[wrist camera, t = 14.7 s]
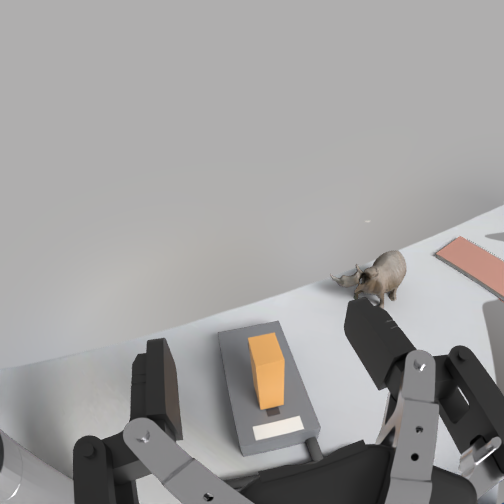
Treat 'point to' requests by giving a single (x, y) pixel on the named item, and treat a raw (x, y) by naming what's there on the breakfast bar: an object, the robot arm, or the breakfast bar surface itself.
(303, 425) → the breaker box
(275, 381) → the handle
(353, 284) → the rhinoceros figurine
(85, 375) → the breakfast bar surface
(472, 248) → the notebook
